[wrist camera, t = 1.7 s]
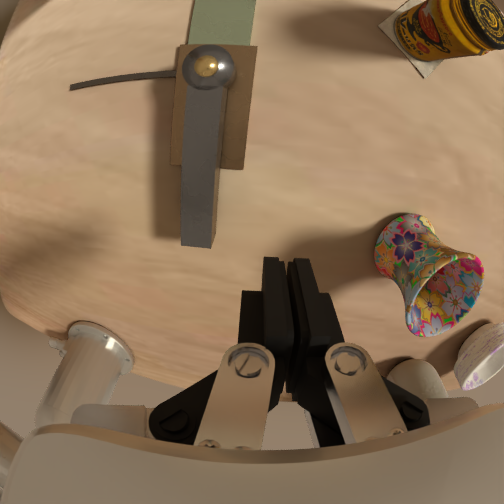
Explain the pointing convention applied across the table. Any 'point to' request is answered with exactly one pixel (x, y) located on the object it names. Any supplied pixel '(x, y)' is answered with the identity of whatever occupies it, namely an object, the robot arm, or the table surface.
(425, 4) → the condiment
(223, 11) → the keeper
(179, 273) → the table surface
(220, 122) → the swing bar
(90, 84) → the plate
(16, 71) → the table surface
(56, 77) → the table surface
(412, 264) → the mug
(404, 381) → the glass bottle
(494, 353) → the paper bowls
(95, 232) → the table surface
